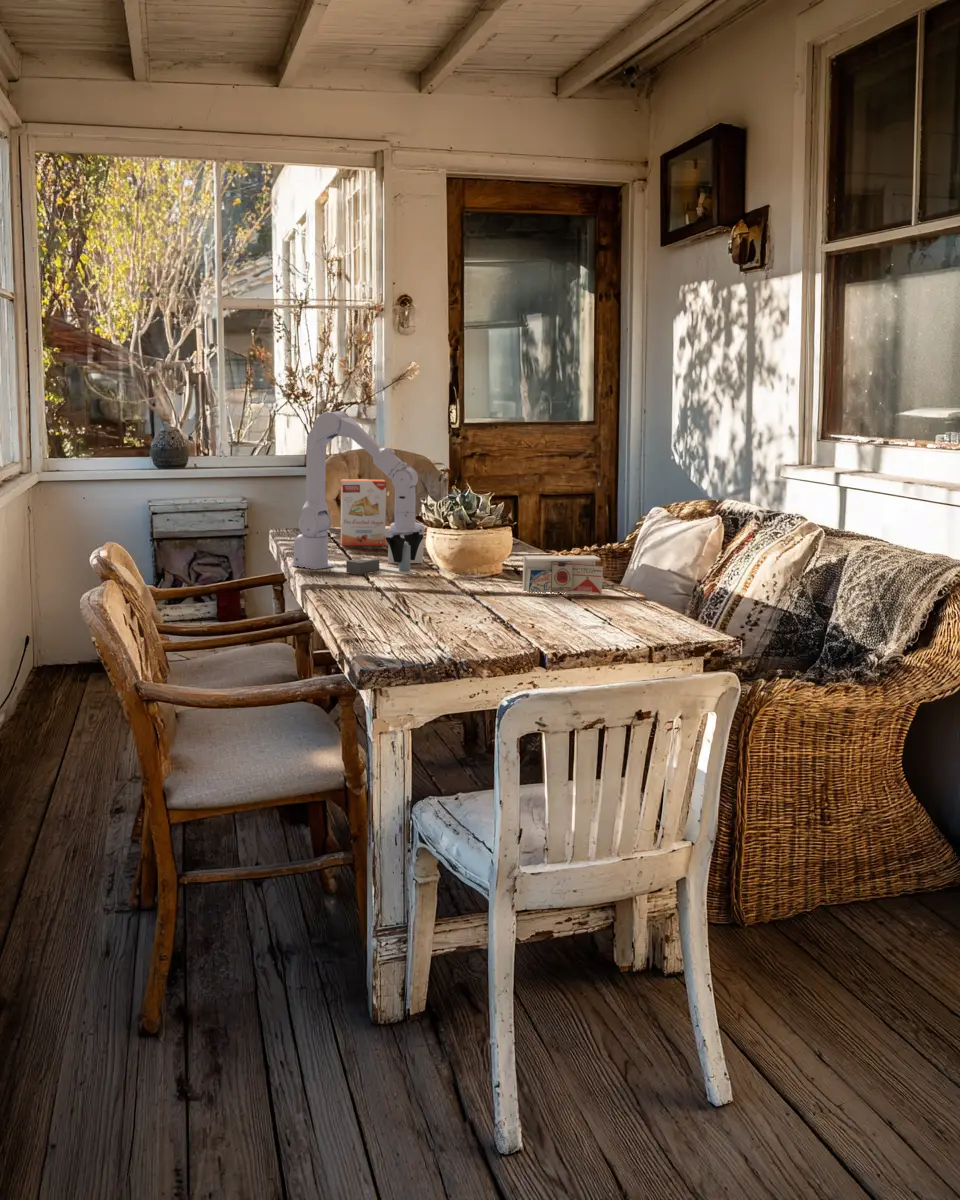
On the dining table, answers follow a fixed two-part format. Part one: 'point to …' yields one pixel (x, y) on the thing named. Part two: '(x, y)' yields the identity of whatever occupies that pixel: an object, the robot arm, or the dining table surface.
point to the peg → (405, 558)
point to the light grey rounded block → (420, 549)
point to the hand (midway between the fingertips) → (404, 561)
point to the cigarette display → (562, 574)
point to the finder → (362, 565)
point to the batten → (395, 570)
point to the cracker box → (363, 512)
